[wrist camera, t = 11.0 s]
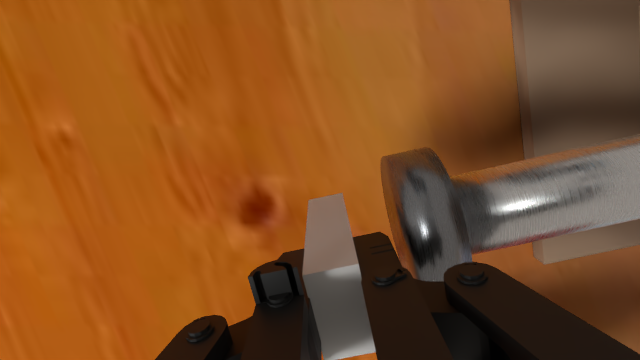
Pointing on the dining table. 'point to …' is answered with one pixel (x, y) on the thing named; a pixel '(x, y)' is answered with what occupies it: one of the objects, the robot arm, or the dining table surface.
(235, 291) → the dining table surface
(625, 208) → the shaft
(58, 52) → the dining table surface
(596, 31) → the block
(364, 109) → the dining table surface
